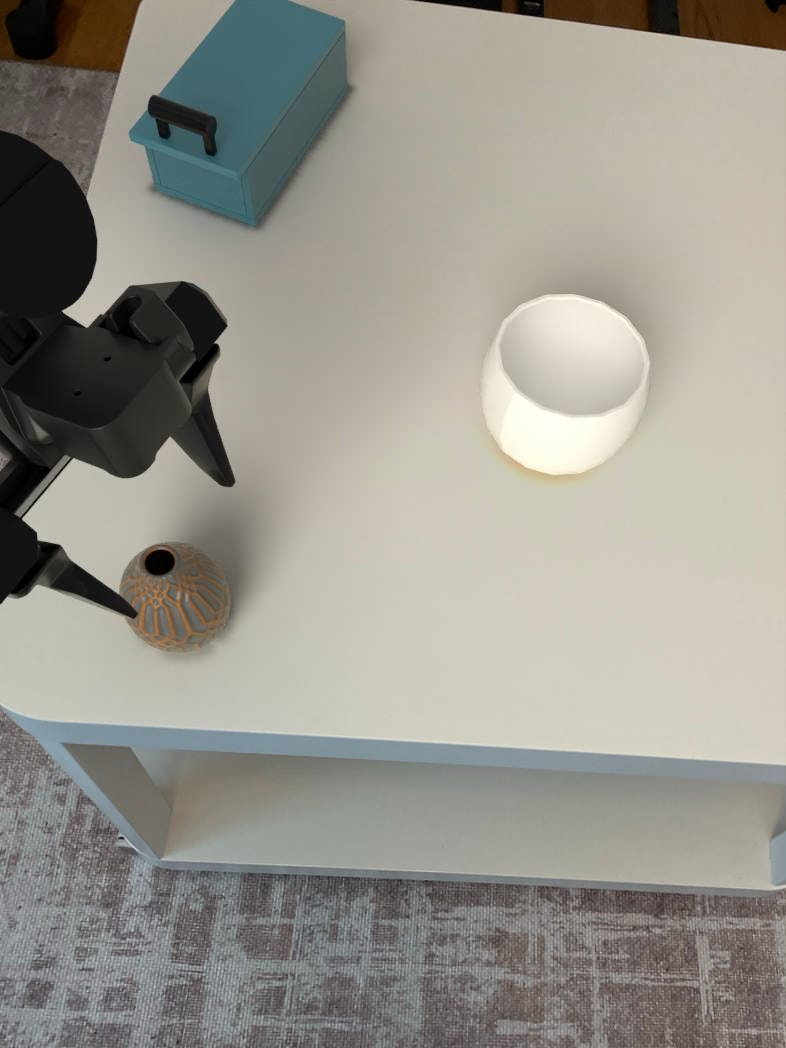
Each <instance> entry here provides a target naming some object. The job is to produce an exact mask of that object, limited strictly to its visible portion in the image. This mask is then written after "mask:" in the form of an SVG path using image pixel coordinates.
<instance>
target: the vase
mask: <svg viewBox="0 0 786 1048" xmlns="http://www.w3.org/2000/svg"><path fill="white" fill-rule="evenodd" d="M126 565H127V566H126V567H125V568H124V571H123V573H122V575H121V578H120V583H119V591H118V594H119V595H120V596H122V597H123V598H124V599H125V600H126V601H127V602H128V603H129V604H130V605H131V606H132V607H133V608H134V609H135V610H136V611H137V612H138V616H137V617H136V619H130V618H126V617H123V618H124V620H125V622H126V624H127V625H128V627H129V628H130V629H131V630H132V632H133V633H134V634H135V635H136V636H137V637H138V638H139V639H140V640H141V641H142V642H144V643H145V644H147V645H149V646H150V647H153V648H154V649H156V650H160V651H162V652H167V653H173V654H183V653H191V652H194V651H198V650H199V649H202V648H205V647H206V646H207V645H209V644H210V643H212V642H213V641H214V640H215V639H216V638H217V637H219V635H220V634H221V633H222V631H223V630H224V628H225V626H226V624H227V622H228V620H229V617H230V613H231V606H232V596H231V590H230V586H229V582H228V579H227V576H226V575H225V572H224V570H223V569H222V568H221V566H220V565H219V564H218V563H217V561H216V560H214V559H213V557H211V556H210V555H209V554H208V553H207V552H205V551H204V550H202V549H201V548H198V547H197V546H194V545H191V544H188V543H184V542H181V541H180V542H179V541H163V542H160V543H155V544H152V545H150V546H148V547H146V548H144V549H142V550H141V551H139V552H138V553H137V554H136V555H135V556H134V557H132V559H130V561H129V562H128V564H126Z"/></svg>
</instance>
